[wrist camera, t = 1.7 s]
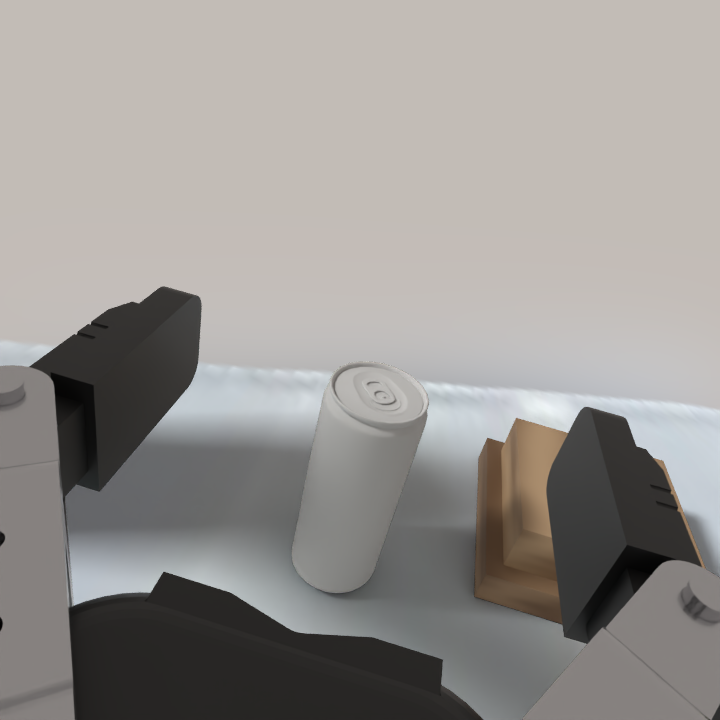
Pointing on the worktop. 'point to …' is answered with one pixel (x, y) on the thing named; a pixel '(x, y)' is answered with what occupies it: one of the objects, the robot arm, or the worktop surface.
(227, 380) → the worktop surface
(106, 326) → the robot arm
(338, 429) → the beverage can
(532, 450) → the stand
